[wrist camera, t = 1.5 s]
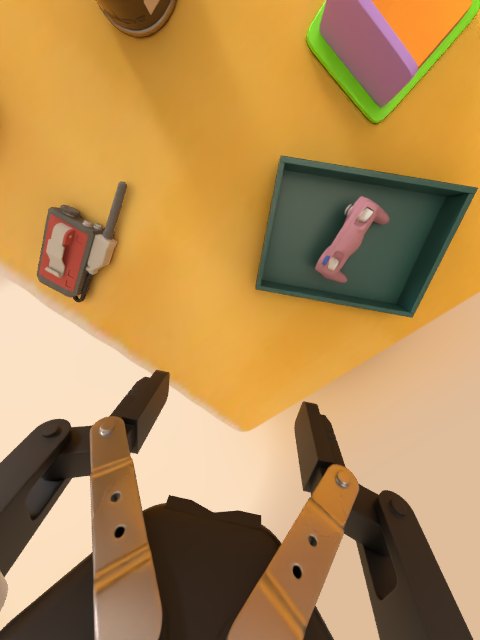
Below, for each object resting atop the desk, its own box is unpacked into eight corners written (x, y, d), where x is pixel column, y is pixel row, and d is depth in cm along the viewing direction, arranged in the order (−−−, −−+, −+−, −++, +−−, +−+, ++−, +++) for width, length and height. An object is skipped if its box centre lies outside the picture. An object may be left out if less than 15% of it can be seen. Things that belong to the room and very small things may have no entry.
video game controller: (358, 203, 30) (355, 184, 24) (392, 217, 29) (398, 201, 23) (316, 270, 34) (304, 268, 28) (343, 286, 32) (337, 287, 26)
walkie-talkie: (98, 306, 39) (137, 188, 31) (78, 316, 35) (117, 183, 27) (48, 279, 38) (75, 150, 30) (22, 286, 34) (45, 139, 26)
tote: (278, 163, 28) (280, 155, 25) (451, 192, 28) (478, 187, 24) (256, 282, 34) (255, 289, 31) (397, 307, 34) (412, 317, 30)
